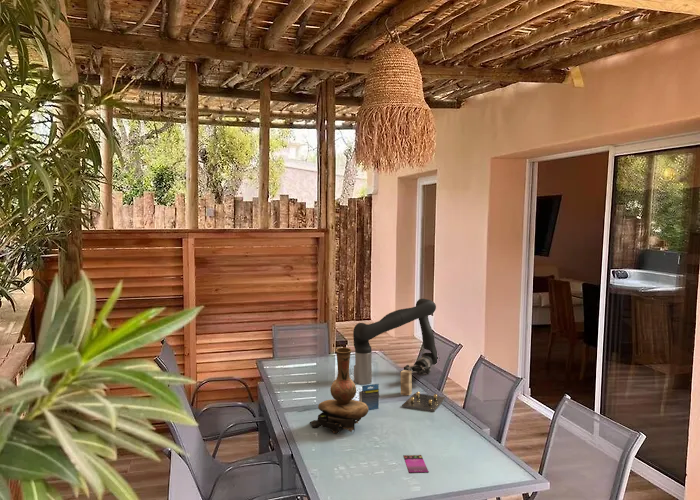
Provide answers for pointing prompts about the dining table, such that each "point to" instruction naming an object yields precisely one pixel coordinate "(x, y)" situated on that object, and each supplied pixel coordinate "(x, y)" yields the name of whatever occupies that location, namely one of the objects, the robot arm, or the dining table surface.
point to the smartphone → (415, 464)
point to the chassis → (423, 402)
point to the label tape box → (370, 396)
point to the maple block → (406, 382)
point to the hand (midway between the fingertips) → (413, 372)
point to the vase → (341, 400)
